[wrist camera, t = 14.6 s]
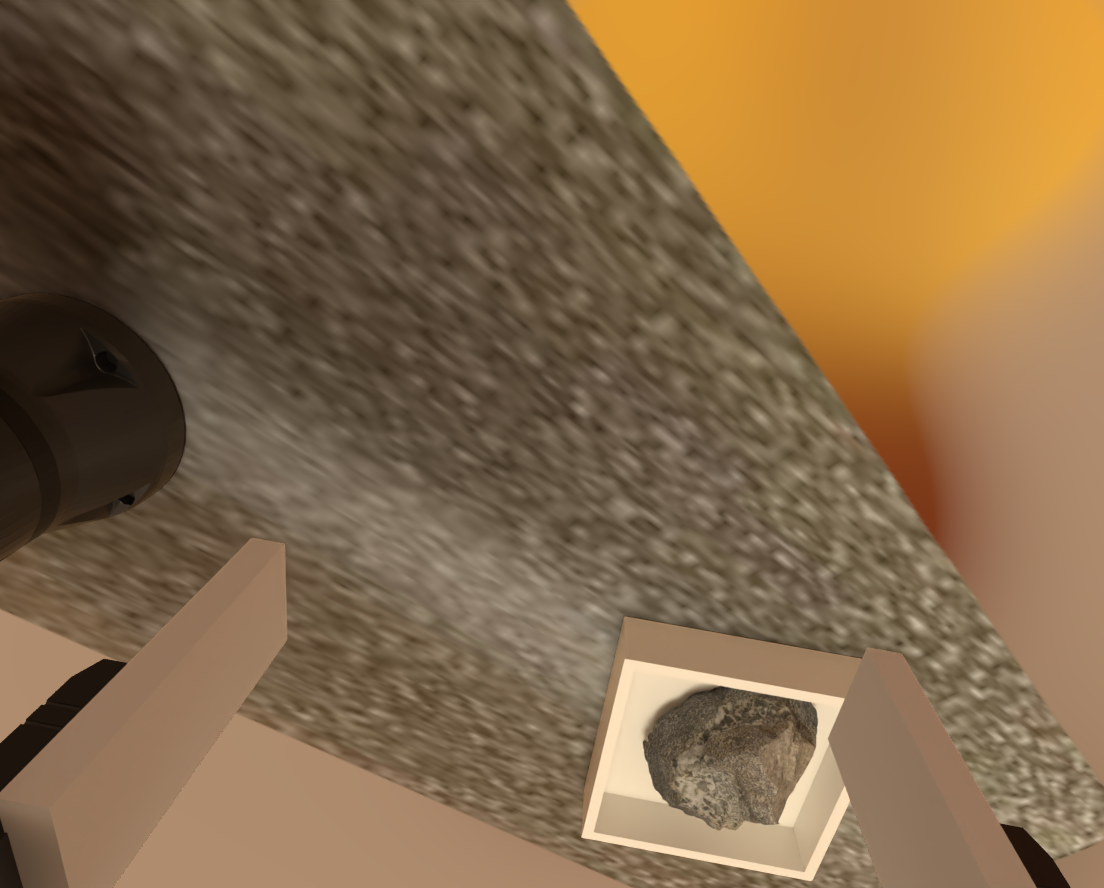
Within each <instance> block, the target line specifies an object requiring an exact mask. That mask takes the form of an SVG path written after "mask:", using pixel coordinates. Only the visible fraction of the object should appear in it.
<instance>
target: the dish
mask: <svg viewBox="0 0 1104 888" xmlns="http://www.w3.org/2000/svg"><path fill="white" fill-rule="evenodd" d="M861 660H862V659H861V658H855V657H849V656H844V655H838V654H833V653H827V652H822V651H816V650H810V649H805V648H799V647H794V646H788V645H782V644H777V643H771V642H766V641H760V640H755V639H749V638H743V637H738V636H732V635H727V634H721V633H715V632H710V631H704V630H699V629H693V628H688V627H682V626H676V625H671V624H665V623H660V622H654V621H649V620H643V619H637V618H632V617H626V616H624V620H623V624H622V629H621V633H620V637H619V641H618V646H617V650H616V654H615V659H614V663H613V667H612V671H611V676H610V680H609V684H608V688H607V693H606V697H605V701H604V706H603V710H602V714H601V718H600V723H599V727H598V731H597V735H596V740H595V744H594V748H593V753H592V757H591V761H590V765H589V770H588V774H587V778H586V783H585V787H584V803H583V821H582V838H588V839H593V840H598V841H603V842H609V843H614V844H619V845H624V846H630V847H635V848H640V849H645V850H651V851H656V852H661V853H667V854H672V855H677V856H682V857H688V858H693V859H698V860H703V861H709V862H714V863H719V864H724V865H730V866H735V867H740V868H745V869H751V870H756V871H761V872H766V873H772V874H777V875H782V876H787V877H793V878H798V879H803V880H808V881H812V880H813V878H814V876H815V874H816V872H817V869H818V867H819V865H820V863H821V861H822V859H823V857H824V855H825V853H826V850H827V848H828V846H829V844H830V842H831V840H832V838H833V836H834V834H835V831H836V829H837V827H838V825H839V823H840V821H841V819H842V817H843V815H844V812H845V810H846V808H847V806H848V804H849V802H850V799H849V796H848V793H847V791H846V788H845V785H844V782H843V780H842V777H841V774H840V771H839V768H838V766H837V763H836V760H835V757H834V755H833V752H832V749H831V746H830V744H829V741H828V737H829V735H830V732H831V730H832V728H833V725H834V723H835V721H836V718H837V716H838V714H839V711H840V709H841V707H842V704H843V702H844V700H845V697H846V695H847V693H848V690H849V688H850V686H851V683H852V681H853V679H854V676H855V674H856V672H857V669H858V667H859V665H860V662H861ZM719 686H724V687H730V688H735V689H741V690H746V691H752V692H757V693H763V694H768V695H774V696H779V697H785V698H790V699H796V700H801V701H807V702H811V703H812V705H813V707H814V708H816V711H817V718H818V726H817V735H816V749H815V751H814V754H813V757H812V759H811V761H810V762H809V764H808V766H807V768H806V770H805V771H804V774H803V775H802V776H801V778H800V779H799V781H798V783H797V784H796V786H795V789H794V791H793V792H792V793H791V794H790V795H789V797H788V799H787V801H786V804H785V808H784V810H783V812H782V814H781V817H780V819H779V821H778V823H780V824H777V825H763V824H760V823H752V822H749V821H744V822H743V824H742V825H741V826H740V827H739V828H738V829H737V830H736V831H735V830H730V829H727V828H723V829H721V830H720V831H717V830H716V829H713V828H711V827H710V826H708V825H707V824H706V822H705V821H703V820H702V819H699V818H696V817H695V816H689V815H686V814H685V813H684V812H683V811H682V810H679V809H677V808H672V807H670V806H669V804H668V803H667V802H666V801H664V800H663V799H662V796H661V795H660V794H659V792H658V791H656V790H655V789H654V787H653V784H652V779H651V775H650V773H649V768H648V762H647V761H646V759H645V756H644V755H645V754H644V749H643V741H644V740H646V741H647V742H648V734H649V733H652V731H653V727H654V725H655V723H656V721H657V720H658V718H659V717H660V718H661V716H662V715H664V714H665V713H667V712H669V711H670V710H671V709H673V708H676V707H681V705H682V703H684V702H685V701H686V699H687V698H688V697H689V696H690V695H692V694H695V693H697V692H699V693H700V692H704V691H705V692H708V691H711V690H713V689H714V688H716V687H719Z"/></svg>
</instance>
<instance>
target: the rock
mask: <svg viewBox="0 0 1104 888" xmlns="http://www.w3.org/2000/svg"><path fill="white" fill-rule="evenodd" d="M817 726H818V718H817V711H816V708H814V707H813V705H812V703H811V702H807V701H801V700H796V699H790V698H785V697H779V696H774V695H768V694H763V693H757V692H752V691H746V690H741V689H735V688H730V687H724V686H719V687H716V688H714V689H713V690H711V691H708V692H705V691H704V692H700V693H699V692H697V693H695V694H692V695H690V696H689V697H688V698H687V699H686V701H685V702H684V703H682V705H681V707H676V708H673V709H671V710H670V711H669V712H667V713H665V714H664V715H662V716H661V718H660V717H659V718H658V720H657V721H656V723H655V725H654V727H653V731H652V733H649V734H648V742H647V741H646V740H644V741H643V749H644V754H645V755H644V756H645V759H646V761H647V762H648V768H649V773H650V775H651V779H652V784H653V787H654V789H655V790H656V791H658V792H659V794H660V795H661V796H662V799H663V800H664V801H666V802H667V803H668V804H669V806H670V807H672V808H677V809H679V810H682V811H683V812H684V813H685V814H686V815H689V816H695V817H696V818H699V819H702V820H703V821H705V822H706V824H707V825H708V826H710V827H711V828H713V829H716V830H717V831H720V830H721V829H723V828H727V829H730V830H735V831H736V830H737V829H738V828H739V827H740V826H741V825H742V824H743V822H744V821H749V822H752V823H760V824H763V825H777V824H780V823H778V821H779V819H780V817H781V814H782V812H783V810H784V808H785V804H786V801H787V799H788V797H789V795H790V794H791V793H792V792H793V791H794V789H795V786H796V784H797V783H798V781H799V779H800V778H801V776H802V775H803V774H804V771H805V770H806V768H807V766H808V764H809V762H810V761H811V759H812V757H813V754H814V751H815V749H816V735H817Z"/></svg>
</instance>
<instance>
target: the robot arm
mask: <svg viewBox="0 0 1104 888" xmlns="http://www.w3.org/2000/svg"><path fill="white" fill-rule="evenodd" d="M184 434H185V432H184V420H183V414H182V409H181V406H180V402H179V399H178V396H177V393H176V391H175V389H174V386H173V384H172V382H171V380H170V378H169V376H168V375H167V373H166V371H165V369H164V368H163V366H162V365H161V363H160V362H159V361H158V359H157V358H156V357H155V355H154V354H153V353H152V351H151V350H150V349H149V348H148V347H147V346H146V345H145V344H144V342H143V341H142V340H141V339H140V338H139V337H138V336H136V335H135V334H134V333H133V332H132V331H131V330H130V329H129V328H127V327H126V326H125V325H123V324H122V323H121V322H119V321H118V320H117V319H115V318H114V317H112V316H111V315H109V314H107V313H106V312H104V311H102V310H100V309H98V308H96V307H94V306H92V305H90V304H87V303H85V302H83V301H80V300H77V299H74V298H70V297H66V296H62V295H56V294H46V293H33V294H24V295H20V296H15V297H10V298H6V299H1V300H0V561H1V560H3V559H4V558H6V557H7V556H9V555H11V554H12V553H14V552H15V551H17V550H18V549H20V548H21V547H22V546H24V545H26V544H27V543H29V542H30V541H32V540H33V539H35V538H37V537H38V536H40V535H42V534H44V533H48V532H52V531H56V530H60V529H64V528H68V527H72V526H76V525H80V524H84V523H88V522H92V521H96V520H100V519H104V518H108V517H112V516H115V515H118V514H121V513H123V512H125V511H127V510H130V509H131V508H133V507H135V506H137V505H138V504H140V503H141V502H143V501H144V500H145V499H147V498H148V497H150V496H151V495H153V494H154V493H156V492H157V491H158V490H159V489H161V488H162V487H163V486H164V485H165V484H166V483H167V482H168V481H169V480H170V478H171V477H172V475H173V474H174V472H175V471H176V469H177V467H178V464H179V462H180V459H181V456H182V452H183V447H184ZM286 641H287V609H286V568H285V544H284V543H279V542H273V541H268V540H262V539H256V538H251V539H250V540H249V541H248V542H247V543H246V544H245V545H244V546H243V547H242V548H241V549H240V550H239V551H238V552H237V553H236V554H235V555H234V556H233V557H232V558H231V559H230V560H229V561H228V562H227V563H226V564H225V565H224V566H223V567H222V568H221V569H220V570H219V571H218V572H217V574H216V575H215V576H214V577H213V578H212V579H211V580H210V581H209V582H208V583H207V584H206V585H205V586H204V587H203V588H202V589H201V590H200V591H199V592H198V593H197V594H196V595H195V596H194V597H193V598H192V599H191V600H190V601H189V602H188V603H187V604H186V605H185V606H184V607H183V608H182V609H181V610H180V611H179V612H178V613H177V614H176V615H175V616H174V617H173V618H172V619H171V620H170V621H169V622H168V623H167V624H166V625H165V626H164V627H163V628H162V629H161V630H160V631H159V632H158V633H157V634H156V635H155V636H154V637H153V638H152V639H151V640H150V641H149V642H148V643H147V644H146V645H145V646H144V647H143V648H142V649H141V650H140V651H139V652H138V653H137V654H136V655H135V656H134V657H133V658H132V659H131V660H130V661H129V662H128V663H124V662H119V661H113V660H108V659H103V660H101V661H99V662H97V663H96V664H94V665H92V666H90V667H88V668H87V669H85V670H83V671H81V672H79V673H78V674H76V675H74V676H72V677H71V678H70V679H69V680H68V681H67V682H66V683H65V684H64V685H62V686H61V687H60V688H59V689H58V690H57V691H56V692H55V693H54V694H53V695H52V696H51V697H50V698H48V700H47V702H46V704H45V705H41V706H40V707H39V708H38V709H37V710H36V711H34V712H33V713H32V714H31V715H30V716H29V717H28V718H27V719H26V722H25V724H20V725H19V726H18V727H17V728H16V729H15V730H14V731H13V732H12V733H11V734H10V735H9V736H8V737H7V738H5V739H4V740H3V741H2V742H1V743H0V888H113V887H114V886H115V884H116V883H117V881H118V880H119V878H120V877H121V876H122V874H123V873H124V871H125V870H126V868H127V867H128V866H129V864H130V863H131V861H132V860H133V859H134V857H135V856H136V854H137V853H138V851H139V850H140V849H141V847H142V846H143V844H144V843H145V841H146V840H147V839H148V837H149V836H150V834H151V833H152V831H153V830H154V829H155V827H156V826H157V824H158V823H159V822H160V820H161V819H162V817H163V816H164V814H165V813H166V812H167V810H168V809H169V807H170V806H171V804H172V803H173V802H174V800H175V799H176V797H177V796H178V794H179V793H180V792H181V790H182V788H183V787H184V786H185V785H186V783H187V782H188V780H189V779H190V777H191V776H192V774H193V773H194V772H195V770H196V769H197V767H198V766H199V764H200V763H201V762H202V760H203V759H204V757H205V756H206V755H207V753H208V752H209V750H210V749H211V747H212V746H213V745H214V743H215V742H216V740H217V739H218V738H219V736H220V734H221V733H222V732H223V730H224V729H225V728H226V726H227V725H228V723H229V722H230V720H231V719H232V718H233V716H234V715H235V713H236V712H237V710H238V709H239V708H240V706H241V705H242V703H243V702H244V700H245V699H246V698H247V696H248V695H249V693H250V692H251V691H252V689H253V688H254V686H255V685H256V683H257V682H258V681H259V679H260V678H261V676H262V675H263V673H264V672H265V671H266V669H267V668H268V666H269V665H270V663H271V662H272V661H273V659H274V658H275V656H276V655H277V653H278V652H279V651H280V649H281V648H282V646H283V645H284V644H285V642H286ZM828 741H829V744H830V746H831V749H832V752H833V755H834V757H835V760H836V763H837V766H838V768H839V771H840V774H841V777H842V780H843V782H844V785H845V788H846V791H847V793H848V796H849V799H850V802H851V804H852V807H853V810H854V813H855V815H856V818H857V821H858V824H859V827H860V829H861V832H862V835H863V838H864V840H865V843H866V846H867V849H868V851H869V854H870V857H871V860H872V862H873V865H874V868H875V871H876V874H877V876H878V879H879V882H880V885H881V887H882V888H1070V886H1069V884H1068V883H1067V881H1066V880H1065V878H1064V876H1063V875H1062V873H1061V872H1060V870H1059V868H1058V867H1057V865H1056V864H1055V862H1054V860H1053V859H1052V858H1051V857H1050V855H1049V854H1048V853H1047V852H1046V851H1045V850H1044V849H1043V848H1042V847H1041V846H1040V845H1039V844H1038V843H1037V842H1036V841H1035V840H1034V839H1033V838H1032V837H1031V836H1030V835H1029V834H1028V833H1027V832H1026V831H1025V830H1024V829H1023V828H1021V827H1016V826H1010V825H1005V824H1000V823H999V822H998V820H997V818H996V816H995V815H994V813H993V811H992V809H991V808H990V806H989V804H988V802H987V801H986V799H985V797H984V795H983V794H982V792H981V790H980V789H979V787H978V785H977V783H976V782H975V780H974V778H973V776H972V775H971V773H970V771H969V769H968V768H967V766H966V764H965V763H964V761H963V759H962V757H961V756H960V754H959V752H958V750H957V749H956V747H955V745H954V743H953V742H952V740H951V738H950V736H949V735H948V733H947V731H946V730H945V728H944V726H943V724H942V723H941V721H940V719H939V717H938V716H937V714H936V712H935V710H934V709H933V707H932V705H931V704H930V702H929V700H928V698H927V697H926V695H925V693H924V691H923V690H922V688H921V686H920V684H919V683H918V681H917V679H916V677H915V676H914V674H913V672H912V671H911V669H910V667H909V665H908V664H907V662H906V660H905V658H904V657H903V655H902V654H900V653H895V652H889V651H883V650H878V649H872V648H866V651H865V653H864V655H863V658H862V660H861V662H860V665H859V667H858V669H857V672H856V674H855V676H854V679H853V681H852V683H851V686H850V688H849V690H848V693H847V695H846V697H845V700H844V702H843V704H842V707H841V709H840V711H839V714H838V716H837V718H836V721H835V723H834V725H833V728H832V730H831V732H830V735H829V737H828Z"/></svg>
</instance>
